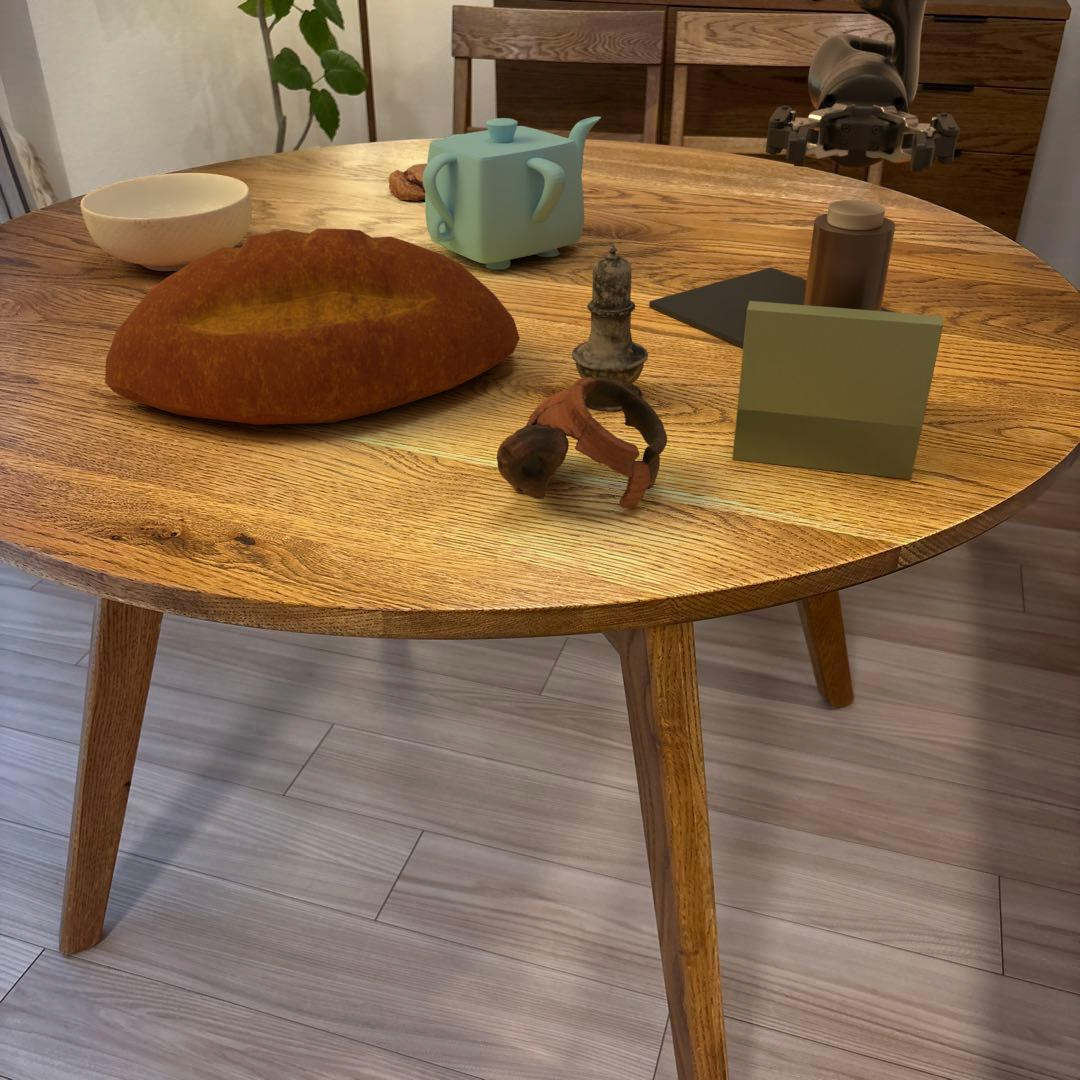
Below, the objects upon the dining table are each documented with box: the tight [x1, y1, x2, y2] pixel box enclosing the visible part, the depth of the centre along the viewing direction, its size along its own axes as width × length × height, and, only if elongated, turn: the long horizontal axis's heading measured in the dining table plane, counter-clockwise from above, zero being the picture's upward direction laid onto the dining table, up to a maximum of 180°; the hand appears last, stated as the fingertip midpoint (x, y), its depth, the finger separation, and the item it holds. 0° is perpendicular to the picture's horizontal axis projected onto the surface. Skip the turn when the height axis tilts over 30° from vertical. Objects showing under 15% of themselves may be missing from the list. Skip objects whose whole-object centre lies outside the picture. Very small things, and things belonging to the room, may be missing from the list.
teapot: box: [423, 116, 602, 270], centre depth 109 cm, size 18×16×14 cm
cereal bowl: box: [80, 172, 253, 272], centre depth 109 cm, size 17×17×7 cm
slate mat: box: [648, 266, 895, 349], centre depth 96 cm, size 16×16×1 cm
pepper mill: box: [803, 199, 896, 311], centre depth 71 cm, size 5×5×12 cm
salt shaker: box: [571, 244, 649, 412], centre depth 78 cm, size 6×6×12 cm
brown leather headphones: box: [496, 376, 668, 510], centre depth 68 cm, size 12×10×8 cm
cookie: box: [388, 163, 427, 202], centre depth 132 cm, size 10×11×3 cm
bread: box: [104, 228, 521, 426], centre depth 81 cm, size 21×33×12 cm, turn 100°
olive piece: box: [731, 301, 944, 480], centre depth 73 cm, size 12×12×11 cm
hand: (859, 156), depth 77 cm, fingers open, 8 cm apart
